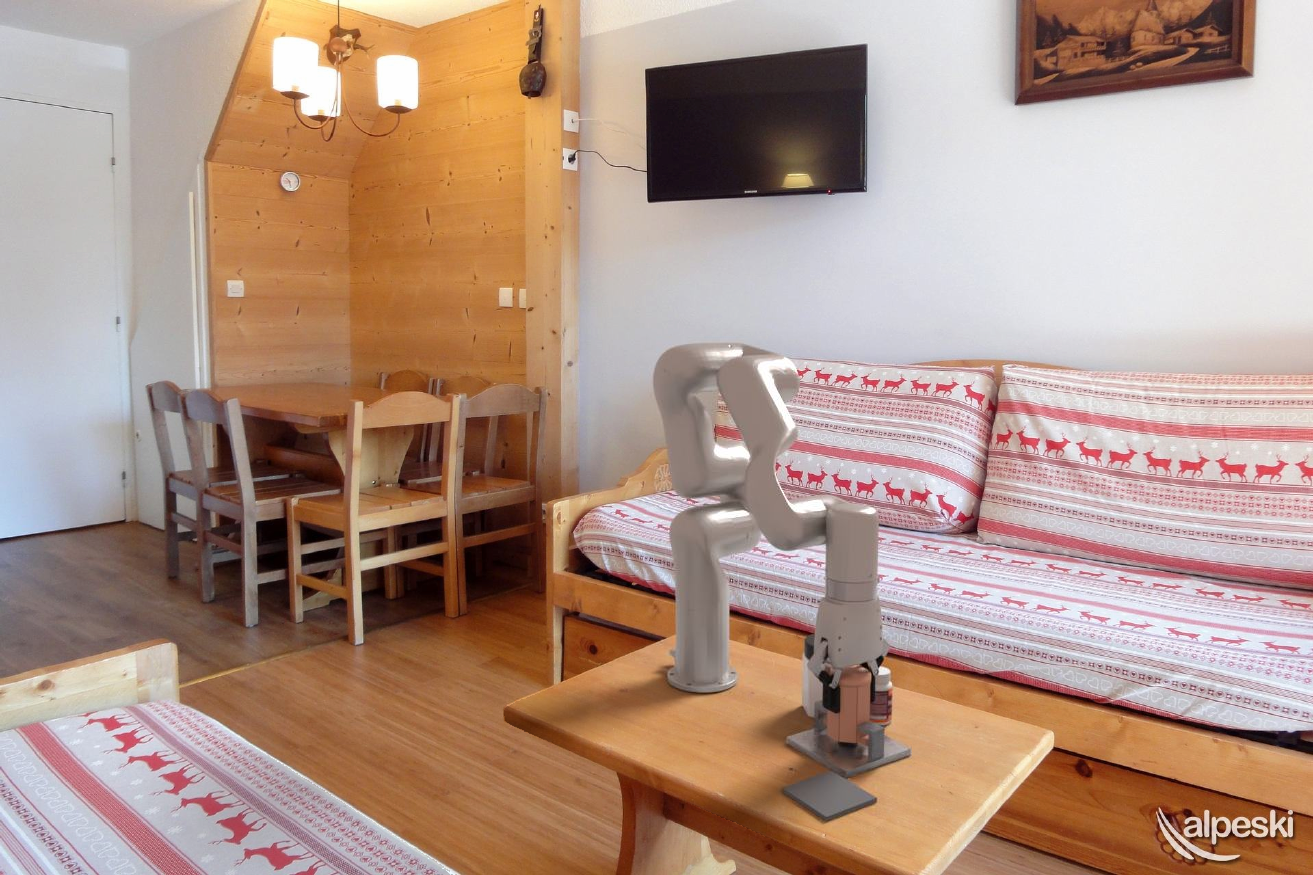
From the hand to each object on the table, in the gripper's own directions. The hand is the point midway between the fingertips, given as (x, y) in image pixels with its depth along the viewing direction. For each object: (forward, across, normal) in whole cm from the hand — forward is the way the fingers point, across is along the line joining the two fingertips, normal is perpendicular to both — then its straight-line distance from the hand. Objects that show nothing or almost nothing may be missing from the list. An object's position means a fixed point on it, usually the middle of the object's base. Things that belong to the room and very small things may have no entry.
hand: (848, 703), depth 140 cm
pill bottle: (+7, -11, -5) cm, 14 cm away
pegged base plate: (+7, 0, 0) cm, 7 cm away
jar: (+7, -7, -12) cm, 16 cm away
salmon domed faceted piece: (+5, 0, 0) cm, 5 cm away
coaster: (+7, +12, +9) cm, 17 cm away
